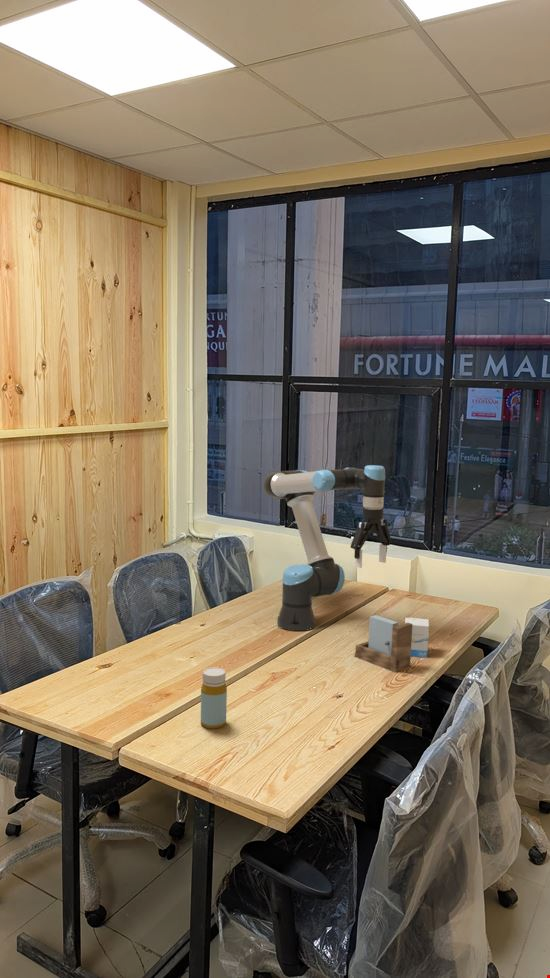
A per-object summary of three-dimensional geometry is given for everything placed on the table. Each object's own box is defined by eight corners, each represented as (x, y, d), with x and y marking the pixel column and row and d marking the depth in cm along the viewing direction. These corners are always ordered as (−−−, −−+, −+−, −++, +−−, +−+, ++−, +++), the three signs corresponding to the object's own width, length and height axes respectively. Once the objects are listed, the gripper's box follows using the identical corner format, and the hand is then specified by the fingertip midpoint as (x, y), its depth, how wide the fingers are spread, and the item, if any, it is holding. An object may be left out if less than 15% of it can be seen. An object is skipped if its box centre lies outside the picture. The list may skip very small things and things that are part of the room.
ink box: (427, 658, 248) (429, 626, 247) (402, 655, 250) (404, 623, 248) (427, 649, 257) (429, 618, 255) (403, 647, 258) (405, 616, 257)
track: (354, 656, 248) (356, 615, 246) (369, 651, 253) (371, 610, 251) (395, 672, 235) (397, 628, 233) (410, 666, 240) (412, 624, 238)
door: (366, 656, 246) (367, 617, 244) (373, 653, 248) (375, 615, 247) (388, 664, 238) (390, 624, 237) (396, 662, 241) (398, 622, 239)
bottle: (200, 718, 198) (201, 666, 196) (225, 717, 198) (226, 666, 196) (200, 729, 191) (201, 676, 189) (226, 729, 192) (227, 676, 190)
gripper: (358, 512, 248) (355, 571, 251) (402, 506, 265) (399, 561, 267) (342, 509, 254) (339, 567, 256) (386, 503, 270) (384, 558, 273)
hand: (370, 564), depth 262 cm, fingers open, 13 cm apart
